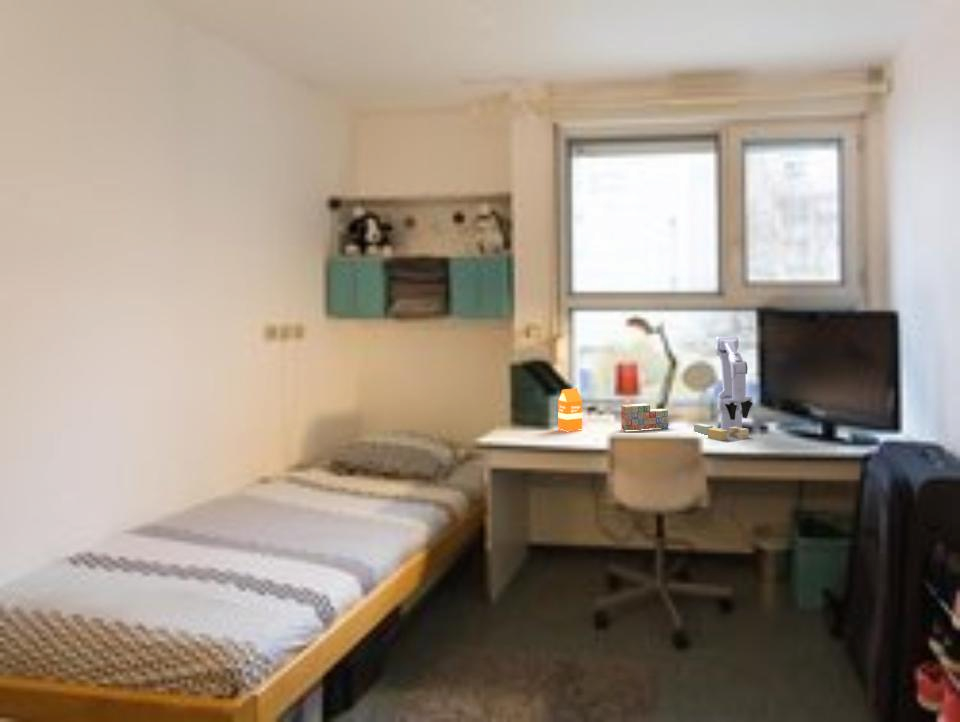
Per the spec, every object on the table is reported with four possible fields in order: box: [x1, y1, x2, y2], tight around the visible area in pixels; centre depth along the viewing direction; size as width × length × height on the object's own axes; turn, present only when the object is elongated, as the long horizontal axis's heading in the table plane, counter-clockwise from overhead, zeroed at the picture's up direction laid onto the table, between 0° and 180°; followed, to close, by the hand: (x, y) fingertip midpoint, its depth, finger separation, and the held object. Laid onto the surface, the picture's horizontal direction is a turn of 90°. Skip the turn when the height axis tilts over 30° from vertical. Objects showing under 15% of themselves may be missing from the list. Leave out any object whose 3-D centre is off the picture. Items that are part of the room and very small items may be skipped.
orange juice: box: [557, 387, 583, 431], centre depth 425 cm, size 8×9×20 cm
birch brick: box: [728, 426, 750, 439], centre depth 397 cm, size 8×4×4 cm, turn 30°
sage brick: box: [693, 423, 714, 435], centre depth 407 cm, size 8×4×4 cm, turn 30°
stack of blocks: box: [620, 403, 669, 431], centre depth 423 cm, size 21×6×12 cm, turn 101°
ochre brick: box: [707, 427, 728, 441], centre depth 395 cm, size 8×4×4 cm, turn 30°
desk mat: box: [708, 432, 754, 443], centre depth 401 cm, size 16×27×1 cm, turn 29°
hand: (738, 418), depth 397 cm, fingers open, 7 cm apart
